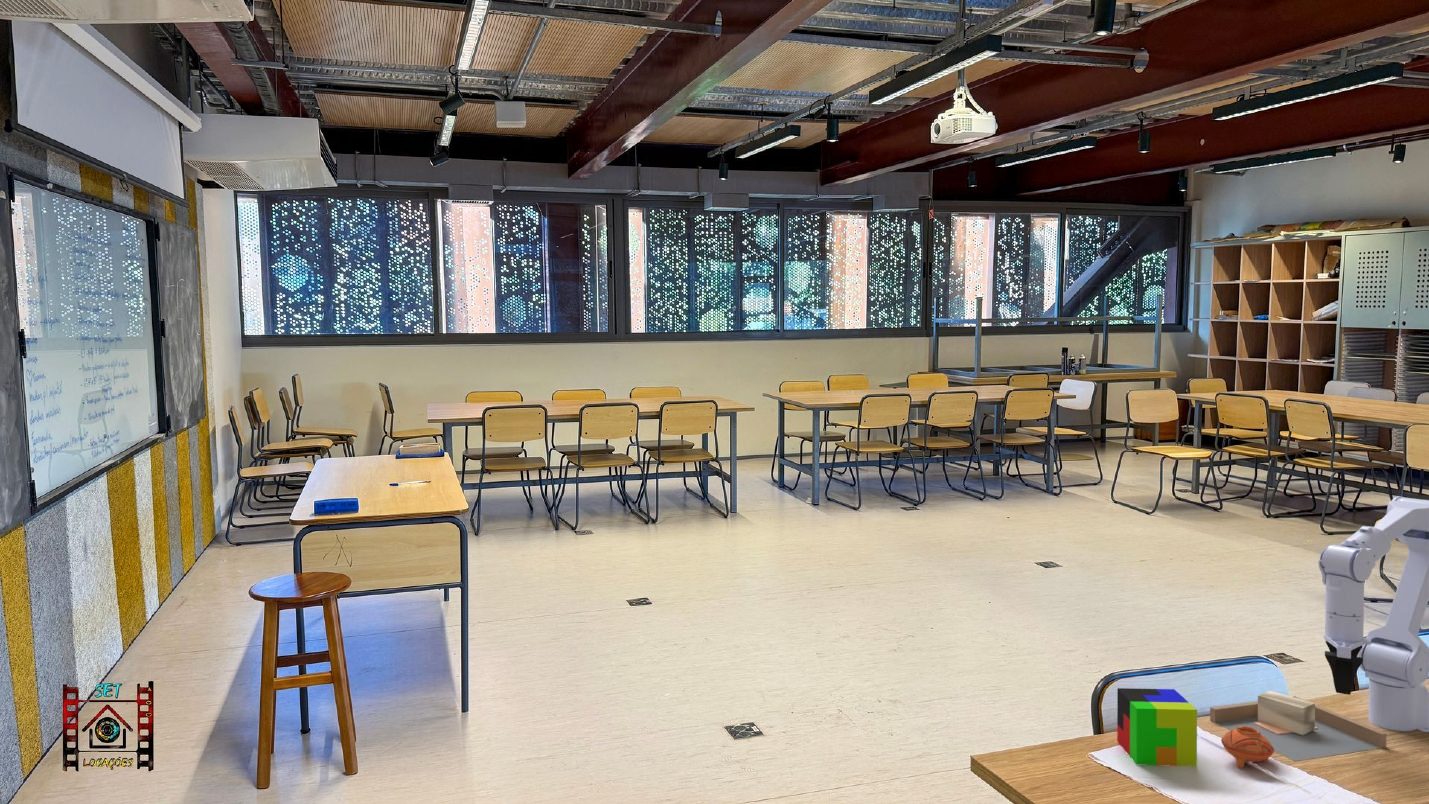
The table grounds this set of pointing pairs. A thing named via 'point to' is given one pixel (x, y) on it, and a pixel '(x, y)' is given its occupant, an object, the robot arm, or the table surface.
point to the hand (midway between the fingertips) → (1343, 686)
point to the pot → (1247, 745)
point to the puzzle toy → (1157, 726)
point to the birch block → (1286, 712)
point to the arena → (1325, 740)
